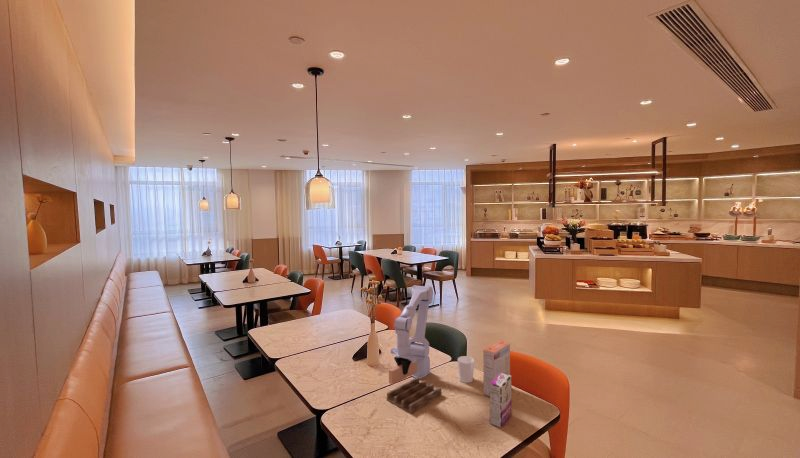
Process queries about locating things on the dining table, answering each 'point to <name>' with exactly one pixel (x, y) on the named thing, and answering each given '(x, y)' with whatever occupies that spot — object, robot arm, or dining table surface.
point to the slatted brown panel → (413, 395)
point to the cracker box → (495, 363)
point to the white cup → (465, 369)
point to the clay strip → (401, 372)
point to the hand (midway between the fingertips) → (403, 372)
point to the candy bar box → (500, 400)
